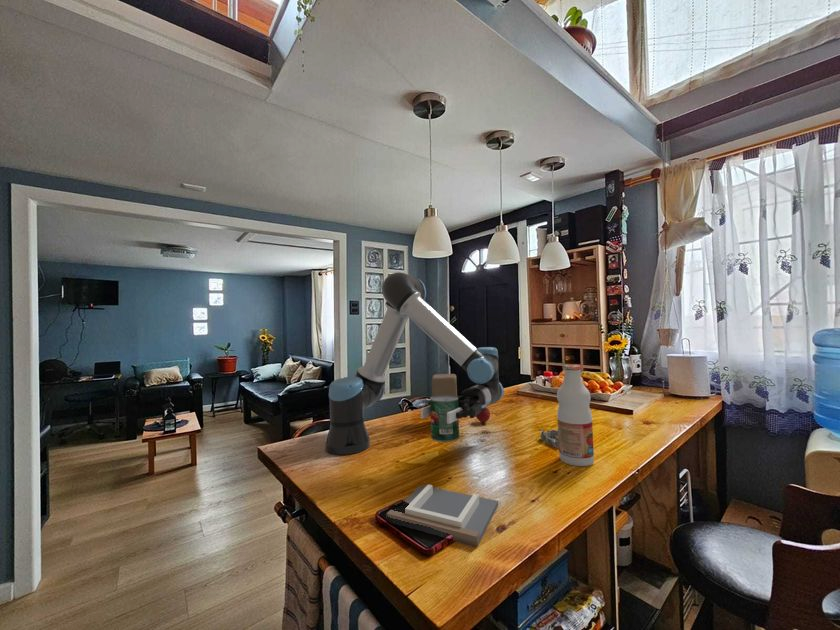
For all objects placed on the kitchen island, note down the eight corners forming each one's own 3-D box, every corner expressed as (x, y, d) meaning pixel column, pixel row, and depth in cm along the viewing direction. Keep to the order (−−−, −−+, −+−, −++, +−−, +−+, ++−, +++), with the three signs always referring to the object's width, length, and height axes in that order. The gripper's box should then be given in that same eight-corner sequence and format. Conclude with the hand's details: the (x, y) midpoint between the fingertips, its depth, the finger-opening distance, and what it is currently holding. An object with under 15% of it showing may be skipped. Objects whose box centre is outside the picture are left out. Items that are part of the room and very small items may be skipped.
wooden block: (458, 420, 146) (456, 373, 146) (458, 427, 136) (456, 377, 137) (434, 420, 147) (432, 374, 147) (433, 427, 137) (431, 377, 138)
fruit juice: (555, 453, 107) (551, 363, 107) (588, 454, 105) (583, 363, 106) (563, 466, 97) (559, 368, 98) (599, 467, 96) (594, 367, 96)
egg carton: (537, 439, 121) (537, 427, 121) (557, 437, 122) (556, 425, 122) (555, 450, 110) (554, 437, 110) (576, 447, 112) (575, 434, 112)
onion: (490, 421, 143) (490, 402, 143) (489, 425, 137) (488, 405, 137) (476, 420, 144) (476, 401, 144) (475, 425, 139) (474, 405, 139)
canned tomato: (425, 435, 97) (424, 396, 97) (449, 430, 101) (448, 393, 101) (440, 444, 90) (438, 402, 90) (465, 438, 94) (463, 398, 94)
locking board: (386, 522, 73) (386, 508, 73) (420, 488, 88) (420, 477, 88) (477, 547, 64) (476, 531, 64) (498, 505, 79) (497, 492, 79)
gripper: (505, 415, 104) (469, 437, 85) (447, 406, 116) (405, 424, 98) (504, 390, 104) (468, 406, 85) (447, 384, 116) (404, 397, 98)
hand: (434, 416), depth 92 cm, fingers closed on canned tomato, 8 cm apart
